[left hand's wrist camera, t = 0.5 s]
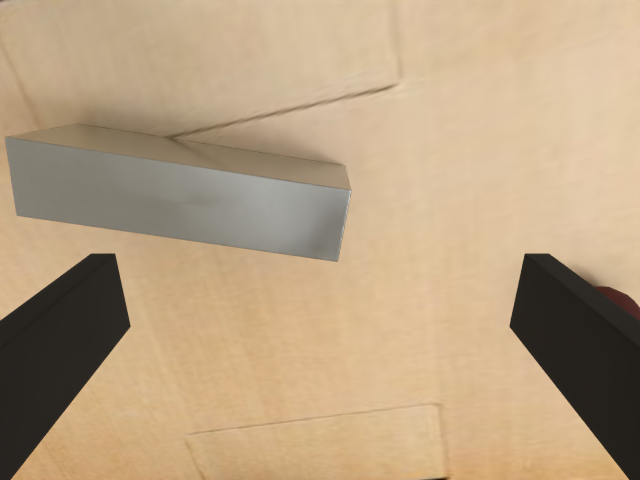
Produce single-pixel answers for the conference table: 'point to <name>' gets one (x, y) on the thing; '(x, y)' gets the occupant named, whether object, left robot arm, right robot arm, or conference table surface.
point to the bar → (180, 190)
